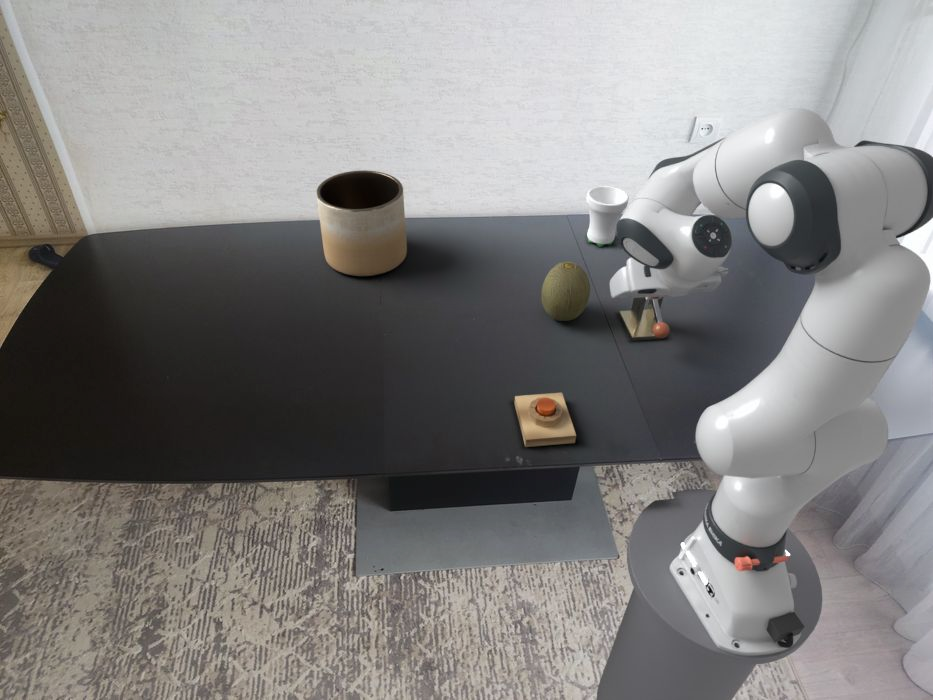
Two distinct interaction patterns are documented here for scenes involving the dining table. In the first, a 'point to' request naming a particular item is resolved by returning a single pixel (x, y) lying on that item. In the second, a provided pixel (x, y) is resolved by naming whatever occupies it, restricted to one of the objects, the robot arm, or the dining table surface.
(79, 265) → the dining table surface
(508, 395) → the dining table surface
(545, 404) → the button
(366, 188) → the planter
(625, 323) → the lever bracket
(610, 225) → the cup
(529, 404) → the button block
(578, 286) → the fruit
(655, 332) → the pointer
